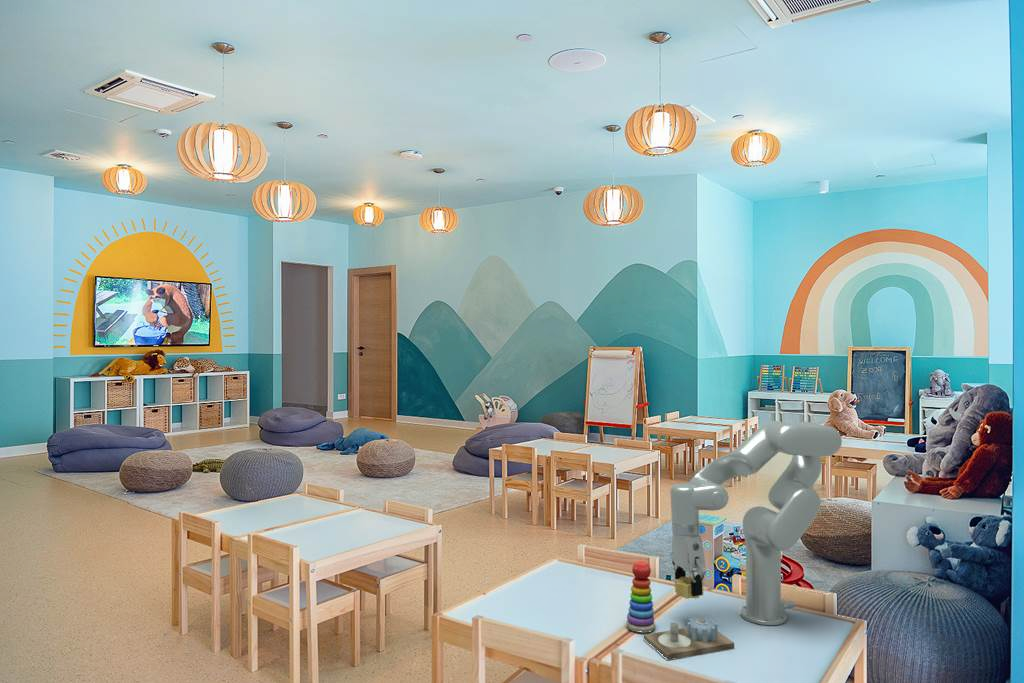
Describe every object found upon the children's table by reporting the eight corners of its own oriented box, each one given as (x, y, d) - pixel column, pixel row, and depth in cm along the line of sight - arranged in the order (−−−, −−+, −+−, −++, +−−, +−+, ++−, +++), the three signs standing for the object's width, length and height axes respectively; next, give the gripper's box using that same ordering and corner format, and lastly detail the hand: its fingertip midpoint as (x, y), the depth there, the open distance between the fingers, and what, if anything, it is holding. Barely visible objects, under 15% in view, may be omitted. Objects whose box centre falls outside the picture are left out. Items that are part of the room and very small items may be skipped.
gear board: (707, 629, 193) (707, 608, 193) (734, 648, 182) (734, 625, 182) (643, 640, 187) (643, 618, 187) (667, 660, 176) (666, 636, 176)
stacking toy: (655, 635, 190) (655, 567, 190) (625, 633, 192) (625, 565, 191) (655, 623, 198) (655, 557, 198) (627, 621, 200) (626, 556, 199)
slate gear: (698, 627, 191) (698, 613, 191) (722, 636, 186) (722, 622, 185) (681, 635, 186) (681, 621, 186) (706, 645, 181) (706, 630, 181)
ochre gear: (693, 586, 202) (692, 574, 202) (708, 595, 195) (708, 583, 195) (670, 591, 200) (669, 579, 199) (685, 600, 192) (684, 588, 192)
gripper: (715, 534, 189) (718, 598, 190) (680, 518, 206) (683, 577, 206) (691, 538, 187) (694, 603, 188) (658, 522, 204) (661, 581, 204)
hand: (688, 589), depth 197 cm, fingers closed on ochre gear, 7 cm apart
